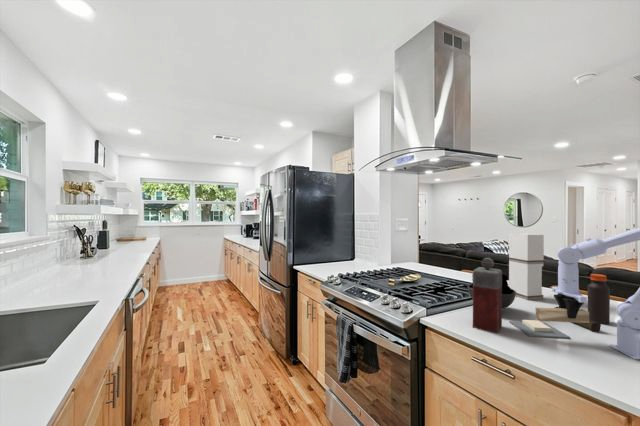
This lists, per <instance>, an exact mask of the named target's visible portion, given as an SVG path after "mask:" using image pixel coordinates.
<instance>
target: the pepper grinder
mask: <svg viewBox="0 0 640 426" xmlns="http://www.w3.org/2000/svg"><path fill="white" fill-rule="evenodd" d="M480 264H481V266H478V267H477V268H474V269H475V270H474V269H473V271H472V275H473V277H472V279H473V280H472V283H473V299H472V328H474V329H478V330H482V331H487V332H489V333H490V332H491V333H494V334H499V333H500V332H501V329H502V328H503V317H502V316H503V315H502V314H503V313H502V311H503V309H502V274H503V271H502V270H501V269H498V268H493V267H494V266H495V262H494V260H493V259H492V258H490V257H485V258H483V259H482V260H481V262H480Z"/></svg>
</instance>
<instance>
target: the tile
mask: <svg viewBox="0 0 640 426" xmlns="http://www.w3.org/2000/svg"><path fill="white" fill-rule="evenodd" d="M521 322H522V323H523V324H524V325H526V326H527V327H529V328H530V329H532V330H533V331H538V332H551V328H550V327H548V326H547V325H545V324H543V323H544V322H542V321H540V320H538V319H535V320H533V319H522V320H521Z"/></svg>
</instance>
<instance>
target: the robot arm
mask: <svg viewBox="0 0 640 426" xmlns="http://www.w3.org/2000/svg"><path fill="white" fill-rule="evenodd" d="M637 241H640V227H637V228H633V229H631V230H628V231H625V232H621V233H619V234H616V235H612V236H610V237H607V238H604V239H599V238H595V237H593V238H590V237H587V238H585V240H584V241H582V242H578V243H570V244H569V246H564V247H561V248H559V250H558V251H557V253H556V254H557V257H558V261H557V264H558V266H557V267H558V268H557V286H552V287H551V291H552V292H554V293H556V294H553V297H554V300H556V302H557V305H558V307H559V308H566V309H567V315H568V318H572V319H576V316H577V313H578V311H579V309H581V307H582V306H583V305H584V304H585V303H586V304H588V296H585V295H584V294H582V293H580V285H579V282H580V280H579V278H580V277H579V273H580V272H579V270H580V269H579V265H578V264H579V261H580V260H586V259H589V258H592V257H593V258H594V257H597V256H601V255H603V254H606V252H607V250H608V249H610V248H614V247H617V246H623V245H626V244H630V243H632V242H633V243H634V242H637ZM615 310H616V313H617V316H618V317H619V319H618V320H616V344H610V343H609V344H608V346H609V347H611V348H613V349H614V350H616V351H618V352H621V353H623V354H624V355H626V356H628V357H630V358H632V359H634V360H638V361H639V360H640V287H639V288H638V289H637V290H636V292H634V294H633V295H631V296H629V297H628V298H627V299H626V300H625V301H623V302H621V303H619V304H618V305H617V306H616V309H615Z"/></svg>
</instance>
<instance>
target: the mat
mask: <svg viewBox="0 0 640 426" xmlns="http://www.w3.org/2000/svg"><path fill="white" fill-rule="evenodd" d="M509 323H510V324H511V325H512V326H514V327H515V328H517V329H518V330H520V332H522V333H524V334H525V335H526V336H528V337H530V338H531V337H532V338H548V339H550V338H552V339H567V340H571V336H569V335H567V334H566V333H564V332H562V331H561V330H559V329H557V328H555V327H553V326H551V324H549V323H547V322H542V323H543V324H545V325H547V326H548V327H550V328H551V332H538V331H533V330H532V329H530V328H529V327H527V326H526V325H524V324H523V323H522V321H518V320H509Z"/></svg>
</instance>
